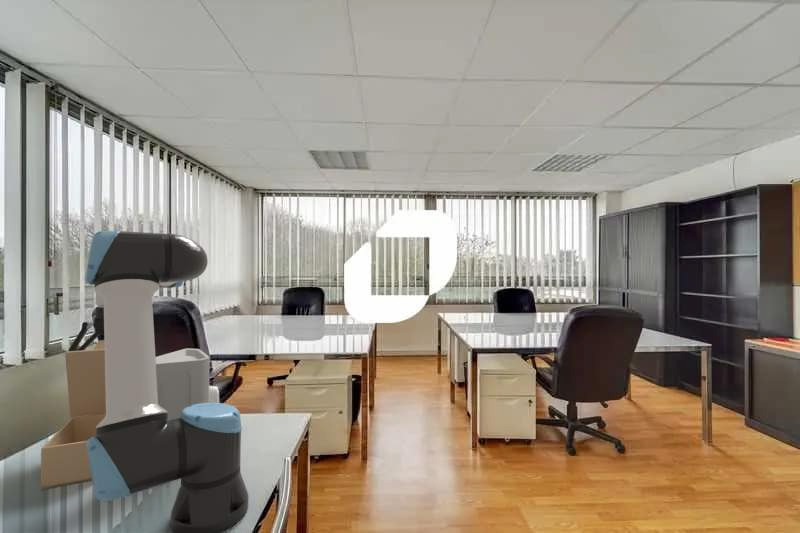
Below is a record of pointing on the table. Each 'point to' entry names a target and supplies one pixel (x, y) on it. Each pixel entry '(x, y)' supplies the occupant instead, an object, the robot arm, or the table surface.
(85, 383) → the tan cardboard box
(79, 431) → the tan rectangular open box
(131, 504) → the table surface
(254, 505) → the table surface
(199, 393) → the grey tapered bin
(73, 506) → the table surface
